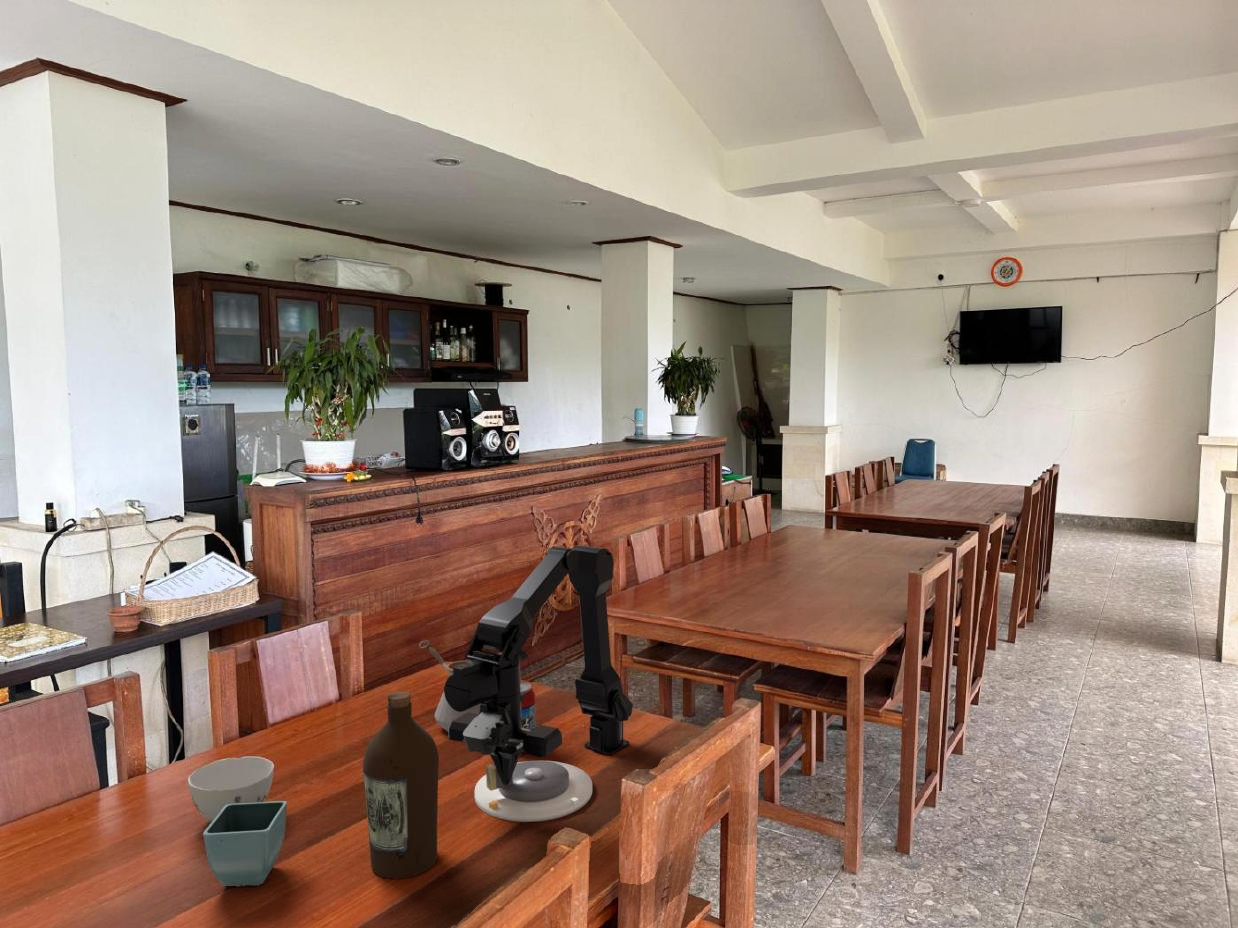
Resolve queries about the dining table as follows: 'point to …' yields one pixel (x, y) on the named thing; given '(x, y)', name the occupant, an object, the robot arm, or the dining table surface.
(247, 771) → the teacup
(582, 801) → the plate
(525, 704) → the beverage can
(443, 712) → the coffee pot
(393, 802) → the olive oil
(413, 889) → the dining table surface
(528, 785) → the dial
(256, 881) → the flower pot
